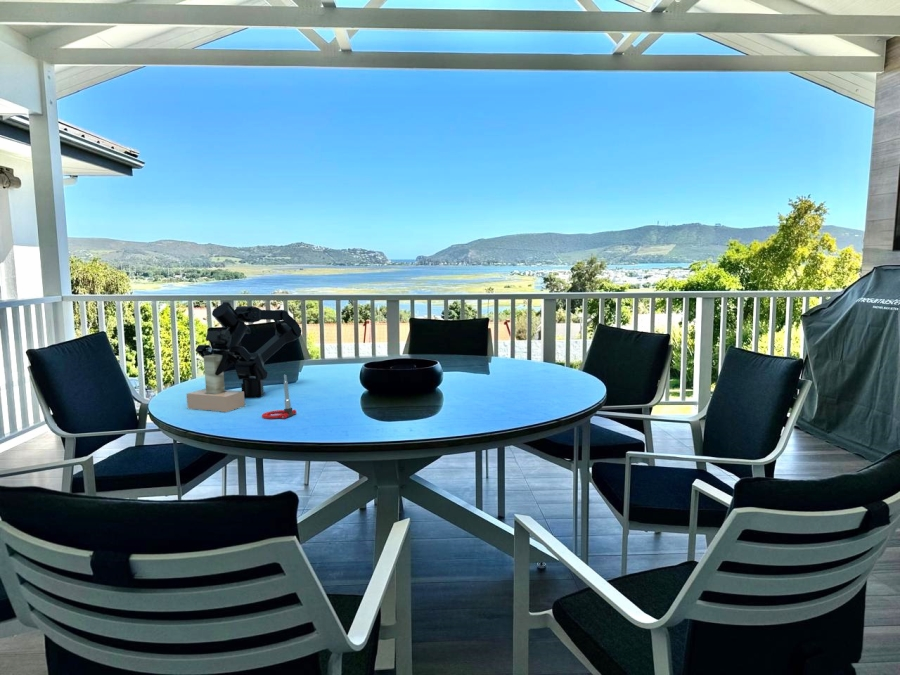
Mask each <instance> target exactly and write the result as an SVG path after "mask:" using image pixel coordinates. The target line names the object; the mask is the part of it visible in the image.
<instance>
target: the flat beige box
mask: <svg viewBox="0 0 900 675" xmlns="http://www.w3.org/2000/svg"><path fill="white" fill-rule="evenodd" d="M186 405H187V409H188V408H189V410H196V409H200V410H199V411H207V410H211V411H210V412H218V411H221V412H220V413H229V412H231V410H232V411H234V409H235V410H238V409H241V408H244V407H246V402H245V398H244V391H242V390H229V389H225V392H223V393H220V394H216V395H215V394H206V388H203V389H200V390H199V389H198V390H195V391H191V392H188V393H186ZM240 407H241V408H240ZM237 408H238V409H237ZM228 411H229V412H228Z"/></svg>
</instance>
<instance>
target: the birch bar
mask: <svg viewBox="0 0 900 675" xmlns="http://www.w3.org/2000/svg"><path fill="white" fill-rule="evenodd" d="M203 357H204V359H203V366H204V382H205V389H206V394H215V395H216V394H220V393H223V392H225V390H226V389H225V388H226V387H225V373H224V372H225V371H224V372H222V373H221V374H219V375H216V374H215V372H216V370H217V368H218V366H219V364H220V362H221V360H222V355H214V354H213V355H208V356H203Z"/></svg>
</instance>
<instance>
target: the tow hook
mask: <svg viewBox="0 0 900 675" xmlns="http://www.w3.org/2000/svg"><path fill="white" fill-rule="evenodd" d="M283 389H284V409H280V410H279V409H277V410H271V411H266V412H264V413H262V415H261V417H262V419H267V420H268V419H269V420H273V419H282V420H285V419H286V418H290V417H292V416H293V415H296V414H297V410H296V409H293V407H292V406H291V399H290V392H289V382H288V377H287V374H283ZM271 414H272V415H271Z"/></svg>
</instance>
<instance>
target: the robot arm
mask: <svg viewBox="0 0 900 675" xmlns="http://www.w3.org/2000/svg"><path fill="white" fill-rule="evenodd" d="M288 312H289V311H287V310H285V309H275V310H274V309H261V308H260V307H256V306H252V305H251V306H250V305H237V306H236V307H235V309H234V308H233V307H232V305H231V303H230V302H229V301H223V303H222V304H220V305H217V306H216V307H215V308H213V309H212V311H211V316H213V318H214V319H215V320H216V321H217V322H218V323H219V324H220V325H221V327H223V328H225V329H222V330H221V331H218V330H207V332H206V337H205V341H206V342H211V343H212V346H213V347H211V345H209V344H198V345H197V346H196V348H195V352H196V353H197V354H198V355H199V356H200V357H201V358H202V359H203V360H204V357H203V356H208V355H213V354H214V355H222V360H221V362H220V364H219V366H218V368H217V370H216V372H215V374H216V375H219V374H221V373H222V372H226V371H227V370H228V369H231V368H232V367H234V366H235V367H234V370H235V372H236V375H237V378H238V380H242V383H241V385H240V386H241V391H244V399H246V398H261V397H263V396H264V395H266V392H265V391H264V380H265V379H267V377H268V372H267V371H266V369H265V368H264V367H265V362H267V361H268V360H269V359H270V358H271V357H272V356H274V354H276V353H277V352H278V351H279V350H280V349H281V348H283V346H284V345H286V344H287V343H290V342H295V341H296V340H297V339H299V338H300V337H301V335H302V328H301V326H300V324H299V322H298V320H296V319H295V318H294V317H292V316H291V315H290V314H289V313H288ZM263 320H264V321H265V320H267V321H268V320H269V321H273V322H274V330H275V335H273V336H272V337H271V338H269V340H268V341H267V342H265V343H264V344H263V345H261V347H260V348H258V349H257V350H256V351H255V352H249V351H248V350H247V349H246V347H244V346H242V345H243V343H242V342H241V341H242V339H243V337H244V336H245V335H246V334H247V335H250V334H251V333H252V331H251V328H250V325H247V323H249V324H251V323H252V324H253V323H254V324H255V323H257V322H260V321H263ZM281 321H283V322H284V323H282V322H281Z"/></svg>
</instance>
